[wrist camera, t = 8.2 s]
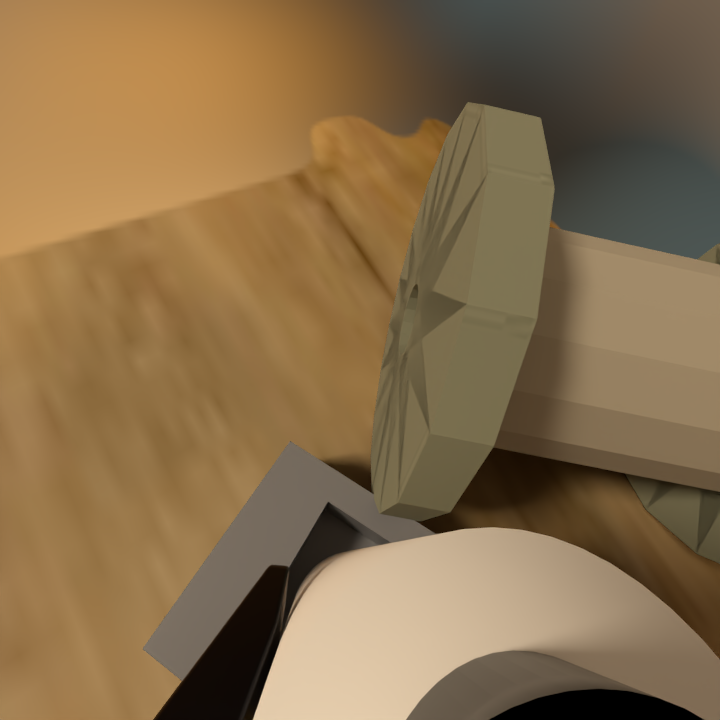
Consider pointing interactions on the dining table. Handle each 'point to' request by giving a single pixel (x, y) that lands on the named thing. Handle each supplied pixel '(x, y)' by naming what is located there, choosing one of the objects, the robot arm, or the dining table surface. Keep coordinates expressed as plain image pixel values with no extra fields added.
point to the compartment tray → (274, 549)
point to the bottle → (484, 637)
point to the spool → (543, 343)
